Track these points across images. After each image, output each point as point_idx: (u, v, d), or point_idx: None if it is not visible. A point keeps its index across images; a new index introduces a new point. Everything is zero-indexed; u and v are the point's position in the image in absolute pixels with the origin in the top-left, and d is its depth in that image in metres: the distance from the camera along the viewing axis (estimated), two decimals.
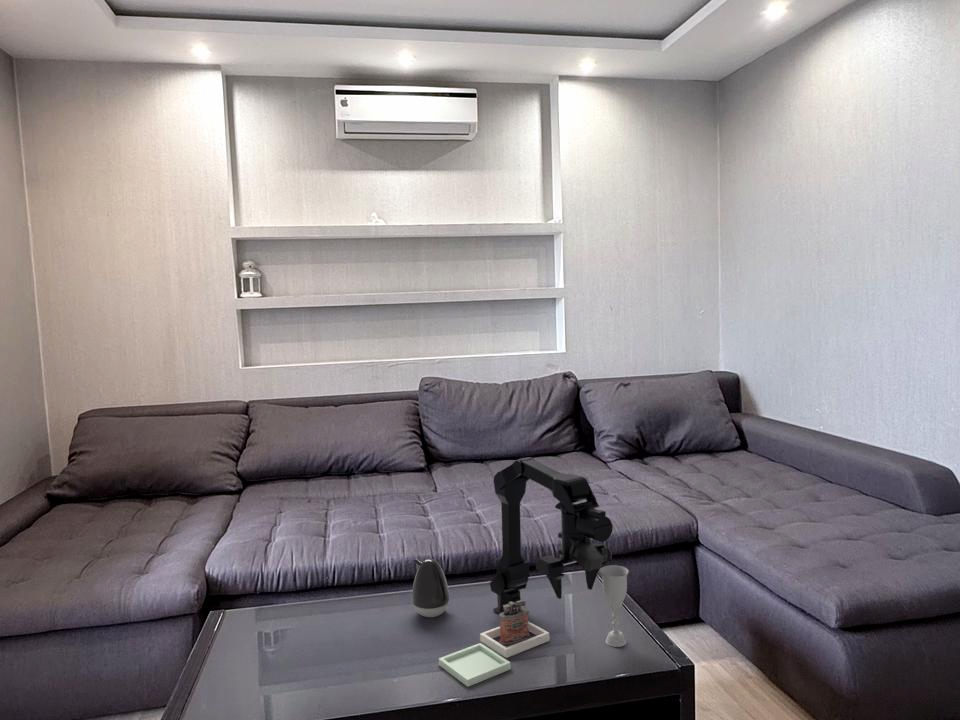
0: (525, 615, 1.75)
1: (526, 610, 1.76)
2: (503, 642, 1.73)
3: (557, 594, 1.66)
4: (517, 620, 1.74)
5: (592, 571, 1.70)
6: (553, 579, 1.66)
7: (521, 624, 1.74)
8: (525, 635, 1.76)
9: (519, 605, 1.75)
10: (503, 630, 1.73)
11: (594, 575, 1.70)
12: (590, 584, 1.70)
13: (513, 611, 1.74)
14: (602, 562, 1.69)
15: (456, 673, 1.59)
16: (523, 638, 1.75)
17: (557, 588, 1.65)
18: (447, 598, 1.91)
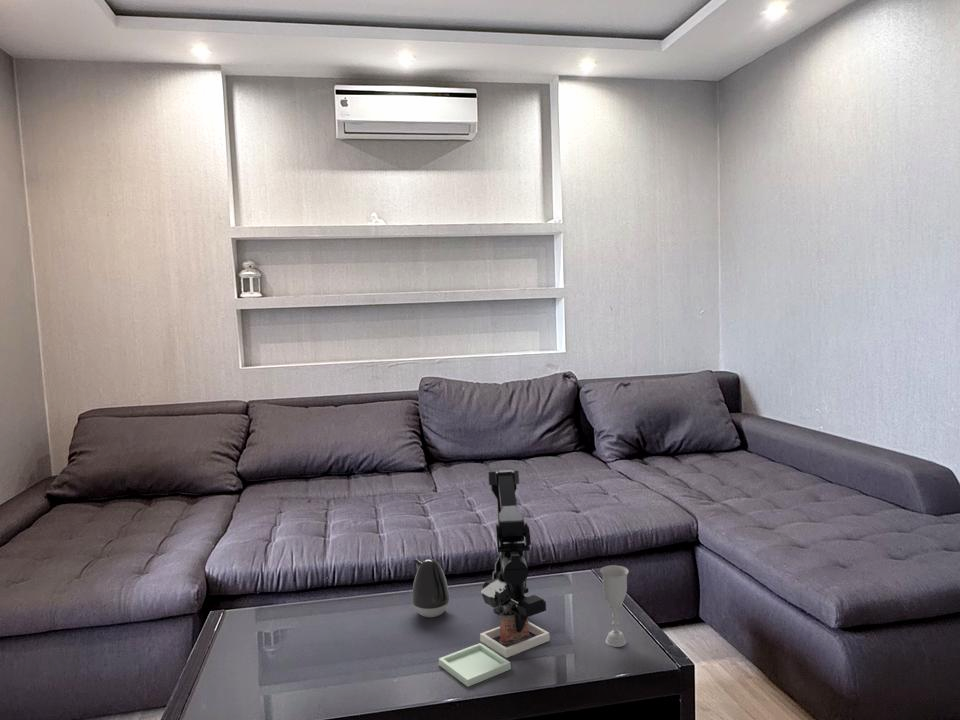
0: None
1: None
2: (503, 642, 1.73)
3: None
4: None
5: None
6: None
7: None
8: (525, 635, 1.76)
9: None
10: (503, 629, 1.73)
11: (516, 619, 1.73)
12: None
13: None
14: (516, 610, 1.70)
15: (456, 673, 1.59)
16: (523, 638, 1.75)
17: None
18: (447, 598, 1.91)
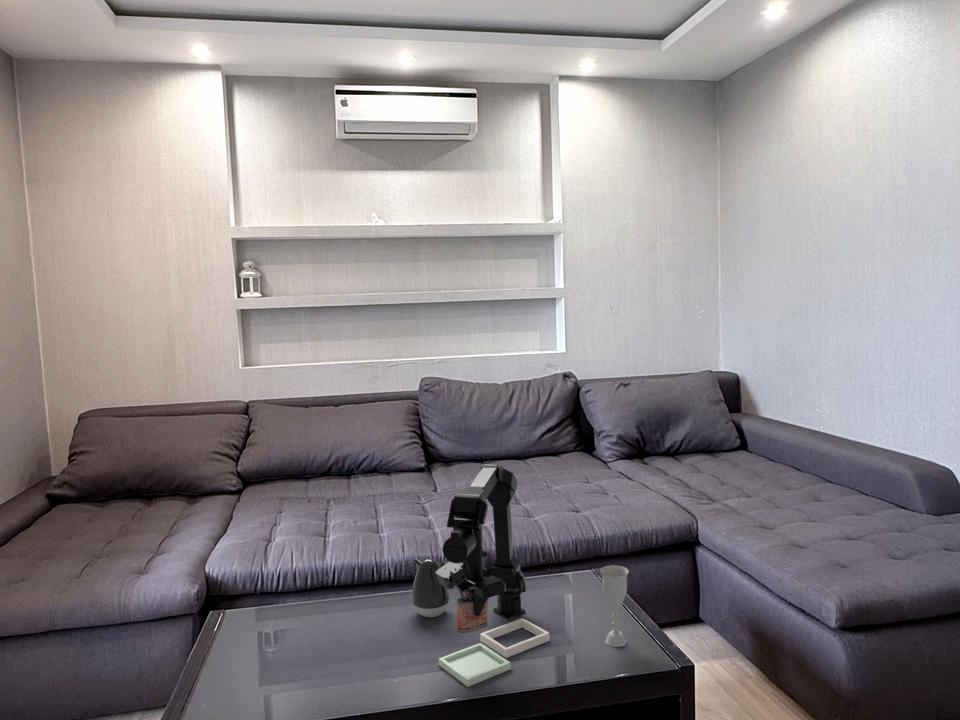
0: (485, 602, 1.63)
1: None
2: (459, 629, 1.61)
3: None
4: None
5: None
6: None
7: None
8: (484, 622, 1.64)
9: None
10: (461, 616, 1.61)
11: (473, 602, 1.60)
12: None
13: None
14: (473, 592, 1.58)
15: (456, 673, 1.59)
16: (481, 625, 1.63)
17: None
18: (447, 598, 1.91)
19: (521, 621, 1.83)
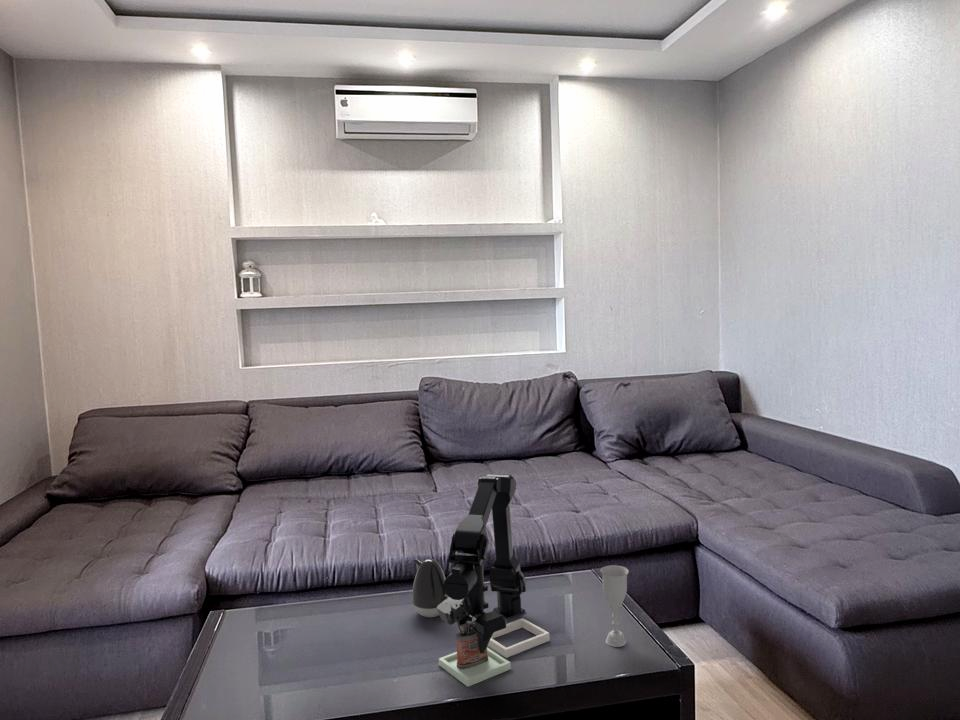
0: None
1: None
2: (460, 665, 1.62)
3: None
4: (475, 641, 1.63)
5: None
6: None
7: None
8: (484, 656, 1.65)
9: None
10: (460, 651, 1.62)
11: (478, 639, 1.59)
12: None
13: (470, 631, 1.63)
14: None
15: (456, 673, 1.59)
16: (481, 659, 1.64)
17: None
18: None
19: (521, 621, 1.83)
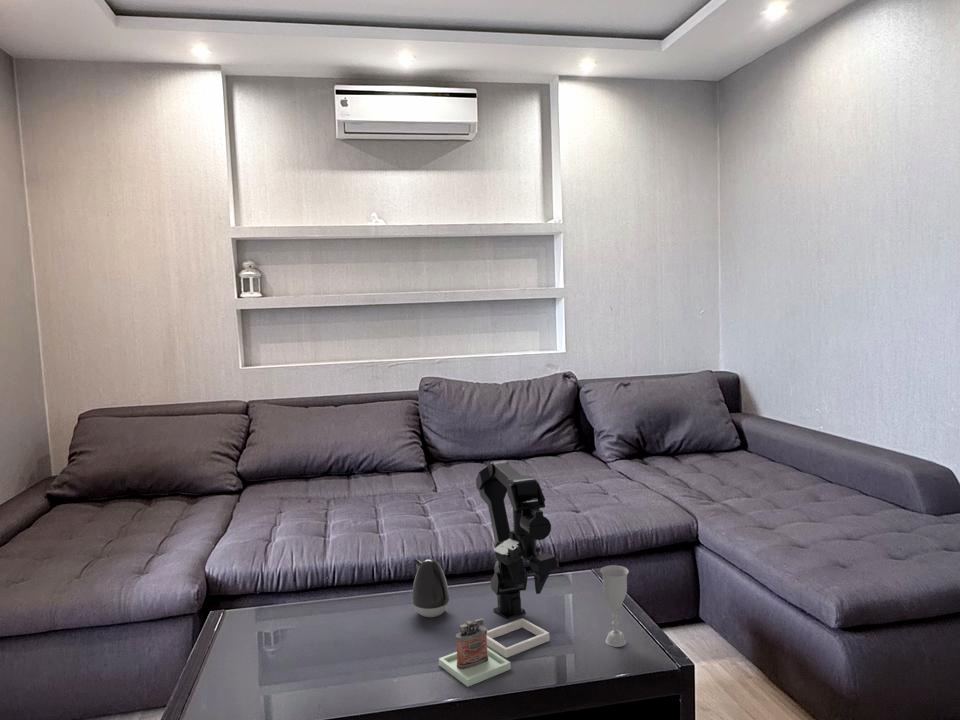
0: (483, 635, 1.64)
1: (484, 629, 1.65)
2: (460, 665, 1.62)
3: None
4: (475, 641, 1.63)
5: None
6: None
7: (479, 645, 1.63)
8: (484, 656, 1.65)
9: (477, 624, 1.64)
10: (460, 651, 1.62)
11: (535, 580, 1.73)
12: None
13: (471, 631, 1.63)
14: (535, 571, 1.71)
15: (456, 673, 1.59)
16: (481, 659, 1.64)
17: None
18: (447, 598, 1.91)
19: (521, 621, 1.83)
